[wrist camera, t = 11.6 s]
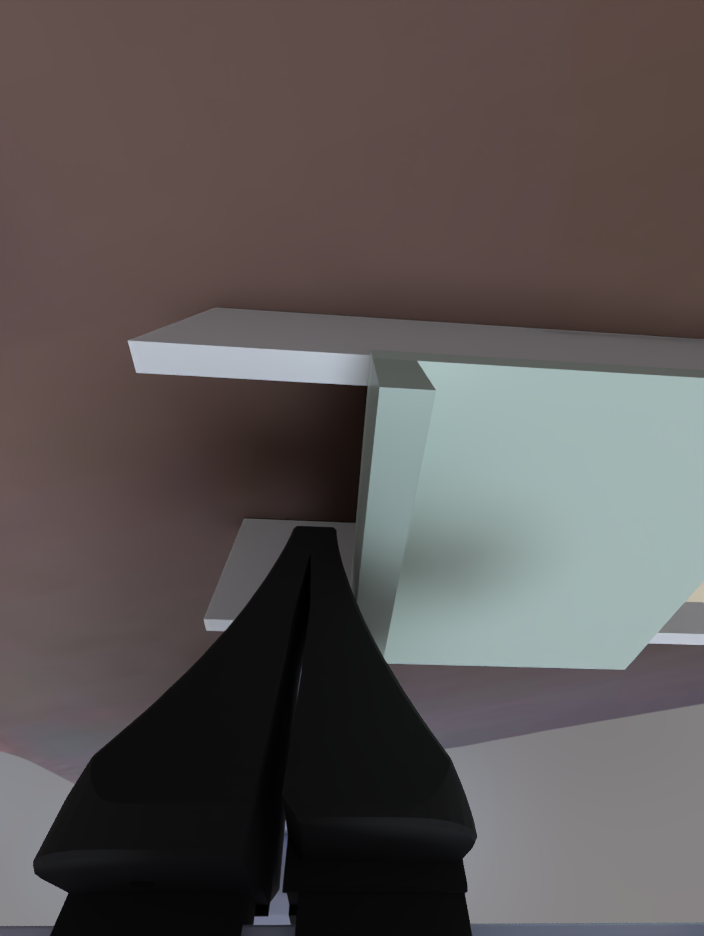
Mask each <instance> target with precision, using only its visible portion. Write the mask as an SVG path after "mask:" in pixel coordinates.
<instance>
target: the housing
mask: <svg viewBox="0 0 704 936" xmlns="http://www.w3.org/2000/svg"><path fill="white" fill-rule="evenodd" d="M128 344H129V347H130V351H131V355H132V358H133V362H134V366H135V369H136V373H151V374H168V375H186V376H203V377H221V378H238V379H256V380H273V381H291V382H308V383H326V384H343V385H361V386H368V376H369V365H370V353H371V350H381V351H398V352H414V353H430V354H447V355H463V356H479V357H496V358H512V359H528V360H545V361H561V362H577V363H594V364H610V365H626V366H643V367H659V368H675V369H692V370H704V339H695V338H679V337H664V336H648V335H633V334H618V333H602V332H587V331H571V330H556V329H541V328H525V327H510V326H494V325H479V324H464V323H448V322H433V321H417V320H402V319H386V318H371V317H356V316H340V315H325V314H309V313H294V312H279V311H263V310H248V309H232V308H217V307H215V308H212V309H209V310H207V311H204V312H201V313H199V314H196V315H194V316H191V317H188V318H186V319H183V320H180V321H178V322H175V323H173V324H170V325H167V326H165V327H162V328H159V329H157V330H154V331H151V332H149V333H146V334H144V335H141V336H138V337H136V338H133V339H130V340H128ZM296 526H316V527H334V528H335V529H336V530H337V541H338V547H339V551H340V555H341V559H342V563H343V566H344V569H345V572H346V575H347V578H348V581H349V584H350V583H351V572H352V560H353V549H354V537H355V526H356V523H344V522H320V521H296V520H272V519H248V518H244V519H243V522H242V524H241V527H240V529H239V532H238V534H237V537H236V539H235V542H234V544H233V547H232V549H231V552H230V554H229V557H228V559H227V561H226V564H225V566H224V569H223V571H222V574H221V576H220V579H219V581H218V584H217V586H216V589H215V591H214V594H213V596H212V599H211V601H210V604H209V606H208V609H207V611H206V614H205V616H204V619H203V620H204V623H205V627H206V631H225V630H226V629H227V628H228V627H229V626H230V624H231V623H232V622H233V621H234V620H235V618H236V617H237V616H238V615H239V613H240V612H241V611H242V610H243V608H244V607H245V606H246V605H247V603H248V602H249V600H250V599H251V598H252V596H253V595H254V594H255V592H256V591H257V589H258V588H259V587H260V585H261V584H262V582H263V581H264V580H265V578H266V577H267V575H268V573H269V572H270V570H271V569H272V567H273V566H274V564H275V562H276V561H277V559H278V558H279V556H280V554H281V552H282V551H283V549H284V547H285V545H286V543H287V542H288V540H289V538H290V535H291V533H292V531H293V529H294V528H295V527H296ZM649 643H656V644H691V645H704V602H685V603H684V604H683V605H682V606H681V607H680V608H679V609H678V610H677V612H676V613H675V614H674V615H673V616H672V617H671V618H670V619H669V621H668V622H667V623H666V624H665V625H664V626H663V627H662V628H661V630H660V631H659V632H658V633H657V634H656V635H655V636H654V637H653V638H652V640H651V641H650V642H649Z"/></svg>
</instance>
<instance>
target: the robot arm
mask: <svg viewBox="0 0 704 936" xmlns="http://www.w3.org/2000/svg"><path fill="white" fill-rule="evenodd" d="M476 838H477V833H476V829H475V824H474V820H473V817H472V813H471V810H470V807H469V804H468V801H467V798H466V795H465V792H464V790H463V787H462V784H461V782H460V779H459V777H458V775H457V772H456V770H455V767H454V765H453V763H452V760H451V758H450V757H449V755H448V754H447V753H446V751H445V750H444V748H443V747H442V746H441V744H440V743H439V742H438V740H437V739H436V738H435V736H434V735H433V733H432V732H431V731H430V729H429V728H428V726H427V725H426V723H425V722H424V721H423V719H422V718H421V716H420V715H419V713H418V712H417V710H416V709H415V707H414V706H413V704H412V703H411V701H410V700H409V698H408V697H407V695H406V694H405V692H404V690H403V689H402V687H401V685H400V684H399V682H398V680H397V679H396V677H395V675H394V674H393V672H392V671H391V669H390V667H389V666H388V664H387V662H386V661H385V659H384V657H383V655H382V653H381V652H380V650H379V648H378V646H377V644H376V642H375V640H374V638H373V636H372V634H371V632H370V630H369V628H368V626H367V624H366V622H365V620H364V618H363V616H362V614H361V611H360V609H359V607H358V604H357V602H356V600H355V597H354V595H353V592H352V589H351V587H350V584H349V581H348V578H347V575H346V572H345V569H344V566H343V563H342V559H341V555H340V551H339V547H338V541H337V530H336V529H335V528H334V527H316V526H296V527H295V528H294V529H293V531H292V533H291V535H290V538H289V540H288V542H287V543H286V545H285V547H284V549H283V551H282V552H281V554H280V556H279V558H278V559H277V561H276V562H275V564H274V566H273V567H272V569H271V570H270V572H269V573H268V575H267V577H266V578H265V580H264V581H263V582H262V584H261V585H260V587H259V588H258V589H257V591H256V592H255V594H254V595H253V596H252V598H251V599H250V600H249V602H248V603H247V605H246V606H245V607H244V608H243V610H242V611H241V612H240V613H239V615H238V616H237V617H236V618H235V620H234V621H233V622H232V623H231V624H230V626H229V627H228V628H227V629H226V630H225V631H224V633H223V634H222V635H221V636H220V637H219V638H218V639H217V640H216V642H215V643H214V644H213V645H212V646H211V647H210V648H209V649H208V650H207V651H206V652H205V654H204V655H203V656H202V657H201V658H200V659H199V660H198V661H197V662H196V663H195V664H194V665H193V666H192V667H191V668H190V669H189V670H188V671H187V672H186V673H185V674H184V675H183V676H182V677H181V678H180V679H179V680H178V681H177V682H176V683H175V684H174V685H172V686H171V687H170V688H169V689H168V690H167V691H166V692H165V693H164V694H163V695H162V696H161V697H160V698H159V699H158V700H157V701H156V702H155V703H154V704H153V705H151V706H150V707H149V708H148V709H147V710H146V711H145V712H144V713H142V714H141V715H140V716H139V717H138V718H137V719H136V720H134V721H133V722H132V723H131V724H130V725H129V726H127V727H126V728H125V729H124V730H123V731H122V732H120V733H119V734H118V735H117V736H116V737H115V738H113V739H112V740H111V741H110V742H109V743H108V744H106V745H105V746H104V747H103V748H102V749H101V750H99V751H98V752H97V753H96V754H95V755H94V756H93V757H92V758H91V760H90V761H89V763H88V765H87V766H86V768H85V769H84V771H83V772H82V774H81V776H80V777H79V779H78V780H77V782H76V784H75V785H74V787H73V788H72V790H71V792H70V793H69V795H68V797H67V798H66V800H65V802H64V804H63V805H62V807H61V810H60V811H59V813H58V815H57V817H56V819H55V821H54V823H53V825H52V827H51V828H50V831H49V832H48V834H47V836H46V838H45V840H44V842H43V844H42V846H41V848H40V850H39V852H38V853H37V855H36V858H35V859H34V861H33V867H34V872H35V874H36V875H38V876H39V877H40V878H41V879H43V880H45V881H47V882H49V883H51V884H53V885H55V886H57V887H59V888H61V889H63V890H64V891H66V892H68V896H67V898H66V901H65V902H64V905H63V907H62V909H61V912H60V914H59V916H58V918H57V921H56V923H55V925H54V926H0V936H704V923H540V924H539V923H538V924H470V920H469V915H468V909H467V904H466V898H465V893H466V892H467V881H466V876H465V870H464V865H463V858H464V856H465V855H466V854H467V853H468V852H469V851H470V850H471V849H472V847H473V845H474V843H475V840H476Z"/></svg>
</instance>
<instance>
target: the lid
mask: <svg viewBox="0 0 704 936" xmlns="http://www.w3.org/2000/svg"><path fill="white" fill-rule="evenodd" d="M703 581H704V370H692V369H675V368H659V367H643V366H626V365H610V364H594V363H577V362H561V361H545V360H528V359H512V358H496V357H479V356H463V355H447V354H430V353H414V352H398V351H381V350H371V353H370V365H369V376H368V388H367V399H366V411H365V422H364V434H363V445H362V457H361V468H360V480H359V491H358V503H357V514H356V526H355V537H354V549H353V560H352V572H351V583H350V587H351V589H352V592H353V595H354V597H355V600H356V602H357V604H358V607H359V609H360V611H361V614H362V616H363V618H364V620H365V622H366V624H367V626H368V628H369V630H370V632H371V634H372V636H373V638H374V640H375V642H376V644H377V646H378V648H379V650H380V652H381V653H382V655H383V657H384V659H385V661H386V662H387V663H388V664H427V665H466V666H505V667H544V668H583V669H623V670H625V669H626V668H627V667H628V665H629V664H630V663H631V662H632V661H633V660H634V659H635V658H636V656H637V655H638V654H639V653H640V652H641V651H642V650H643V649H644V647H645V646H646V645H647V644H648V643H649V642H650V641H651V640H652V638H653V637H654V636H655V635H656V634H657V633H658V632H659V631H660V630H661V628H662V627H663V626H664V625H665V624H666V623H667V622H668V621H669V619H670V618H671V617H672V616H673V615H674V614H675V613H676V612H677V610H678V609H679V608H680V607H681V606H682V605H683V604H684V603H685V601H686V600H687V599H688V598H689V597H690V596H691V595H692V594H693V592H694V591H695V590H696V589H697V588H698V587H699V586H700V585H701V583H702V582H703Z"/></svg>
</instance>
